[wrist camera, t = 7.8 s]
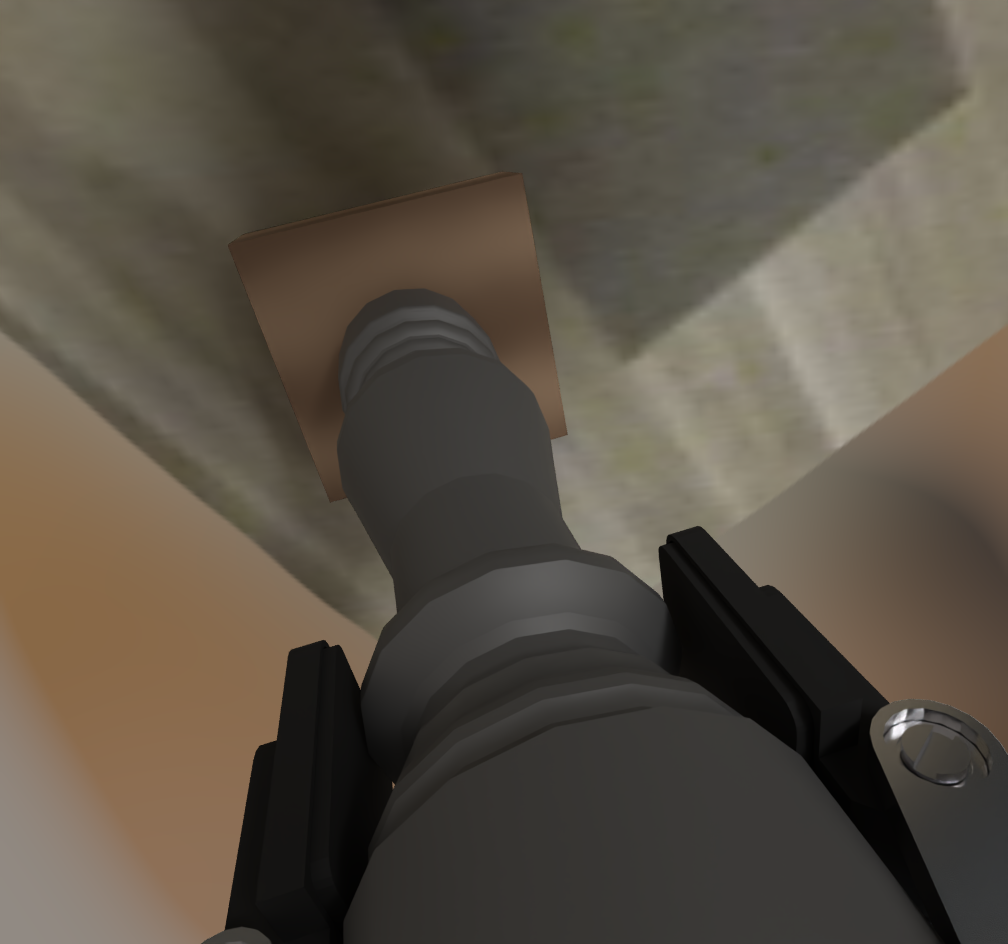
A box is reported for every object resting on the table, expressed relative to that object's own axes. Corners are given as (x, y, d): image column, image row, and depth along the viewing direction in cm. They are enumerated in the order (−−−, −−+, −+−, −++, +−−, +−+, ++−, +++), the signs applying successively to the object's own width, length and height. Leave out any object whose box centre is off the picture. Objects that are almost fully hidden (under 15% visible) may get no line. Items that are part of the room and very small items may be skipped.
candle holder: (514, 335, 27) (1246, 1096, 5) (441, 454, 29) (753, 1415, 7) (384, 256, 24) (717, 1086, 3) (312, 391, 26) (132, 1604, 4)
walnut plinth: (243, 234, 28) (227, 244, 25) (501, 171, 29) (522, 173, 26) (332, 466, 34) (330, 502, 30) (546, 407, 35) (567, 434, 31)
